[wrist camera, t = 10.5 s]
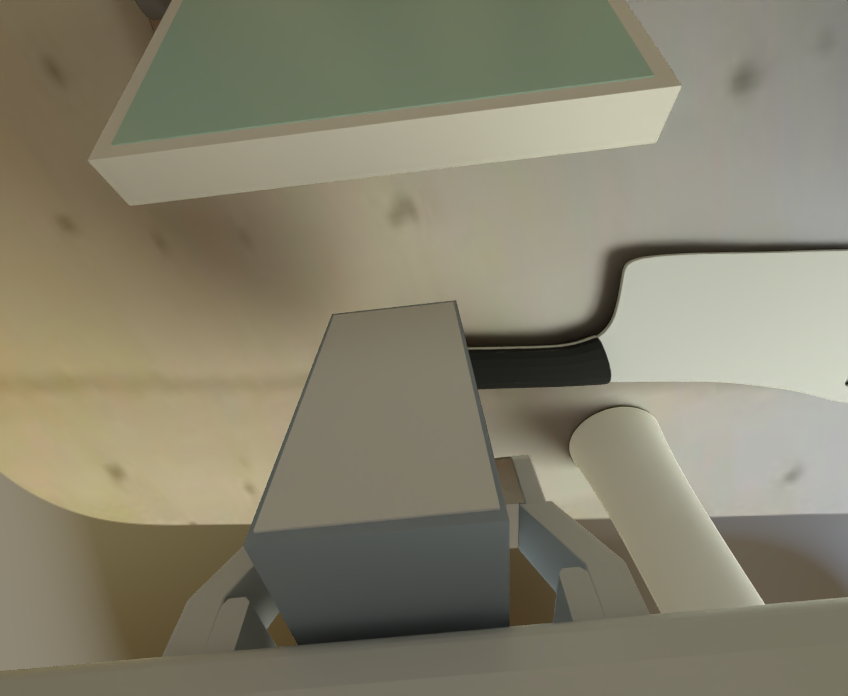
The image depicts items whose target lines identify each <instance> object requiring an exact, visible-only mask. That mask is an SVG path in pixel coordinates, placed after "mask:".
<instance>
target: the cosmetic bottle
mask: <svg viewBox="0 0 848 696" xmlns="http://www.w3.org/2000/svg"><path fill="white" fill-rule="evenodd" d="M569 451H570V455H571V457H572V459H573V461H574V462H575V464H576V465H577V466H578V468H579V469H580V470H581V472H582V473H583V475H584V476H585V478H586V479H587V481H588V482H589V484H590V485H591V487H592V488H593V490H594V491H595V493H596V495H597V496H598V498H599V500H600V501H601V503H602V505H603V506H604V508H605V510H606V511H607V513H608V515H609V517H610V518H611V520H612V522H613V523H614V525H615V527H616V529H617V531H618V533H619V534H620V536H621V538H622V540H623V542H624V544H625V545H626V547H627V549H628V551H629V553H630V555H631V557H632V559H633V561H634V562H635V564H636V566H637V568H638V570H639V572H640V574H641V576H642V577H643V579H644V581H645V583H646V585H647V587H648V589H649V591H650V593H651V595H652V597H653V598H654V600H655V602H656V604H657V606H658V608H659V610H660V612H661V614H663V613H674V612H685V611H697V610H708V609H720V608H731V607H743V606H754V605H765V604H764V602H763V600H762V599H761V597H760V596H759V594H758V593H757V591H756V590H755V588H754V586H753V585H752V583H751V582H750V580H749V579H748V577H747V576H746V574H745V572H744V571H743V569H742V568H741V566H740V565H739V563H738V562H737V560H736V559H735V557H734V555H733V554H732V552H731V551H730V549H729V548H728V546H727V545H726V543H725V541H724V540H723V538H722V536H721V535H720V533H719V532H718V531H717V529H716V527H715V526H714V524H713V522H712V521H711V519H710V518H709V516H708V514H707V513H706V511H705V509H704V508H703V506H702V504H701V503H700V501H699V500H698V498H697V496H696V495H695V493H694V491H693V489H692V488H691V486H690V484H689V483H688V481H687V479H686V478H685V476H684V474H683V472H682V470H681V469H680V467H679V465H678V463H677V461H676V459H675V457H674V455H673V454H672V452H671V450H670V448H669V446H668V444H667V442H666V439H665V437H664V435H663V433H662V431H661V428H660V426H659V424H658V422H657V420H656V419H655V418H654V417H653V416H652V415H651V414H649V413H648V412H646V411H644V410H641V409H638V408H634V407H616V408H610V409H606V410H603V411H601V412H598V413H596V414H594V415H592V416H591V417H589V418H588V419H586V420H585V421H584V422H582V423H581V424H580V425H579V426H578V428H577V429H576V430H575V432H574V433H573V435H572V437H571V440H570V444H569Z"/></svg>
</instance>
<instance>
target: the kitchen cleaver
mask: <svg viewBox="0 0 848 696" xmlns="http://www.w3.org/2000/svg"><path fill="white" fill-rule="evenodd" d="M467 348H468V352H469V356H470V360H471V364H472V368H473V372H474V377H475V381H476V385H477V389H499V388H534V387H564V386H586V385H601V384H608V383H609V382H667V381H695V382H725V383H738V384H748V385H756V386H764V387H772V388H779V389H785V390H791V391H796V392H801V393H806V394H810V395H814V396H817V397H821V398H825V399H828V400H832V401H837V402H848V385H845V382H846V380H847V378H848V249H841V250H802V251H772V252H712V253H681V254H664V255H653V256H646V257H639V258H636V259H633V260H630V261H629V262H628V263H626V264H625V266H624V268H623V271H622V276H621V282H620V288H619V294H618V299H617V303H616V307H615V311H614V314H613V316H612V318H611V320H610V322H609V324H608V325H607V327H606V328H605V329H604V330H603V331H602V332H601V333H600V334H598V335H597V336H596V335H590V336H587V337H584V338H582V339H578V340H575V341H571V342H566V343H558V344H544V345H510V346H467Z"/></svg>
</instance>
